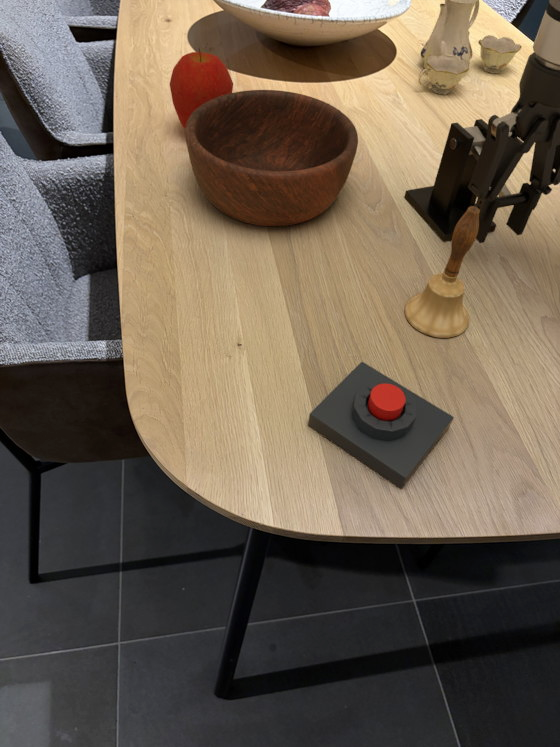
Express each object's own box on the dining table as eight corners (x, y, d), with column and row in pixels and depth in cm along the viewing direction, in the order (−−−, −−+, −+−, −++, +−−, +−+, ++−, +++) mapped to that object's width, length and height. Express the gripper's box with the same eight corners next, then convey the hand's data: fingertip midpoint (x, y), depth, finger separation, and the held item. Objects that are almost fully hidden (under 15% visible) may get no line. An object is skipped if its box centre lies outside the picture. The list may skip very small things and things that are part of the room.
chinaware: (446, 115, 118) (480, 25, 105) (380, 76, 123) (405, -13, 110) (516, 75, 132) (554, -8, 119) (454, 42, 138) (484, -40, 124)
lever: (523, 207, 82) (532, 195, 79) (489, 214, 80) (497, 201, 78) (479, 137, 86) (487, 124, 84) (446, 142, 85) (453, 129, 83)
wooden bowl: (252, 134, 106) (253, 73, 98) (376, 185, 97) (389, 123, 90) (154, 196, 92) (147, 131, 84) (290, 262, 83) (296, 197, 76)
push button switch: (448, 428, 66) (459, 406, 63) (401, 489, 61) (410, 468, 58) (358, 373, 71) (364, 350, 68) (307, 425, 65) (311, 403, 62)
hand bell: (400, 292, 81) (430, 187, 68) (461, 295, 81) (501, 191, 69) (409, 337, 75) (442, 231, 63) (474, 340, 75) (520, 235, 63)
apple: (180, 149, 101) (174, 63, 90) (167, 121, 107) (160, 37, 96) (240, 142, 104) (240, 57, 93) (223, 115, 110) (222, 32, 99)
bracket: (494, 231, 91) (528, 145, 80) (443, 241, 88) (471, 155, 78) (452, 188, 98) (478, 104, 88) (404, 197, 96) (425, 112, 85)
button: (408, 406, 63) (412, 395, 62) (390, 426, 61) (393, 416, 60) (379, 388, 65) (382, 377, 63) (361, 408, 63) (363, 397, 61)
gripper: (607, 38, 71) (533, 207, 89) (475, 52, 66) (424, 228, 84) (653, 65, 67) (565, 237, 84) (515, 82, 62) (452, 261, 79)
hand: (495, 232), depth 84 cm, fingers closed on lever, 5 cm apart
